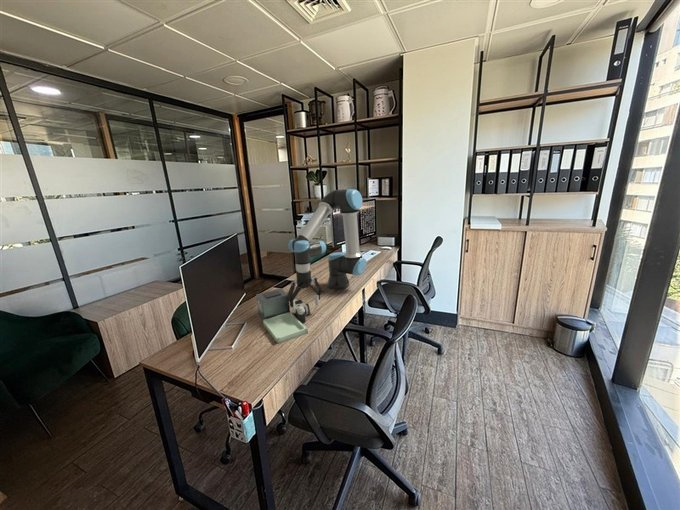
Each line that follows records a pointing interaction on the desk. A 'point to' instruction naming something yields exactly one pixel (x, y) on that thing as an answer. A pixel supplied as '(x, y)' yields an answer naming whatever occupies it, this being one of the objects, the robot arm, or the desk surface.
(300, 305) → the camera
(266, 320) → the tray
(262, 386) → the desk surface
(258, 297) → the block
